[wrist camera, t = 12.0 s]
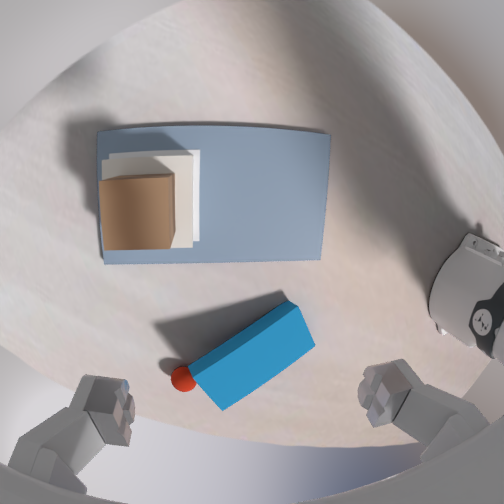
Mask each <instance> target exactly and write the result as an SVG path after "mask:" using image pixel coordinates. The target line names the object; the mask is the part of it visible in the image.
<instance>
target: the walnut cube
mask: <svg viewBox="0 0 504 504" xmlns="http://www.w3.org/2000/svg"><path fill="white" fill-rule="evenodd" d="M99 195H100V212H101V225H102V236H103V245H104V251H107V250H157V249H170V248H171V245H172V241H173V238H174V235H175V232H176V225H175V173H168V174H142V175H124V176H116V177H112V178H108V179H105V180H101V181H99Z"/></svg>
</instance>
